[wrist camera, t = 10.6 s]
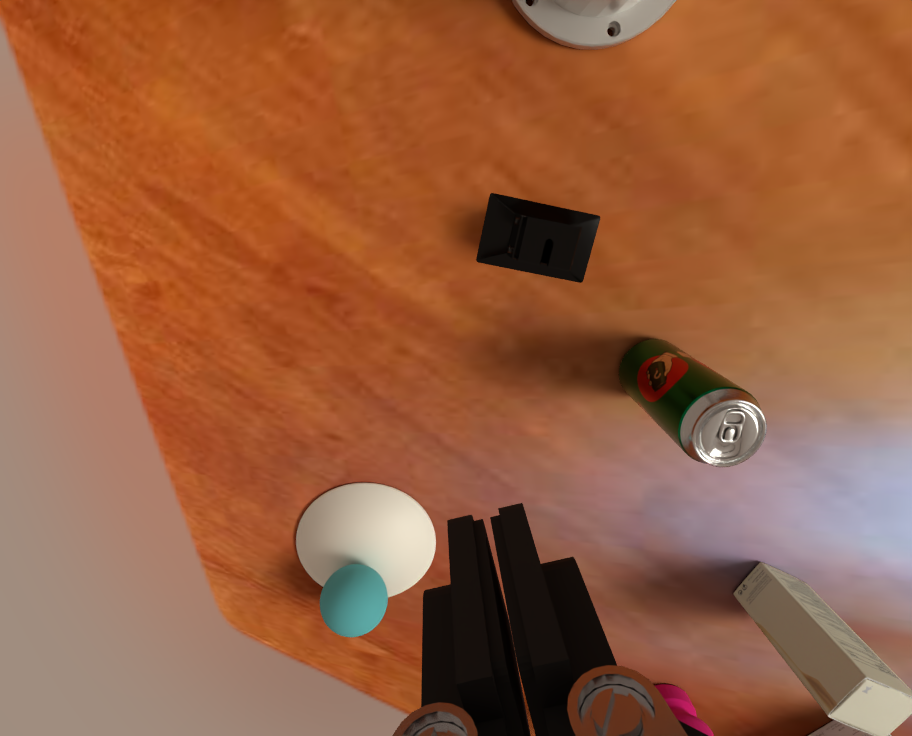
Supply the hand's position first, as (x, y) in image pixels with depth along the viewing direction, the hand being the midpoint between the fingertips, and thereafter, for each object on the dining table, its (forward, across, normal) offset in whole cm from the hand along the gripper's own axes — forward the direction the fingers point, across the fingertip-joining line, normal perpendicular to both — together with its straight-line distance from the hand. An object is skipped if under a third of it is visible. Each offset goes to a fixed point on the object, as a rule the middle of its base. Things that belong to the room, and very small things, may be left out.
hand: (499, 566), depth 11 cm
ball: (+26, +14, +22) cm, 37 cm away
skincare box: (+29, -23, +34) cm, 50 cm away
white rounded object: (+29, +12, +19) cm, 37 cm away
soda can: (+29, -14, +9) cm, 34 cm away
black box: (+30, -7, -3) cm, 31 cm away
